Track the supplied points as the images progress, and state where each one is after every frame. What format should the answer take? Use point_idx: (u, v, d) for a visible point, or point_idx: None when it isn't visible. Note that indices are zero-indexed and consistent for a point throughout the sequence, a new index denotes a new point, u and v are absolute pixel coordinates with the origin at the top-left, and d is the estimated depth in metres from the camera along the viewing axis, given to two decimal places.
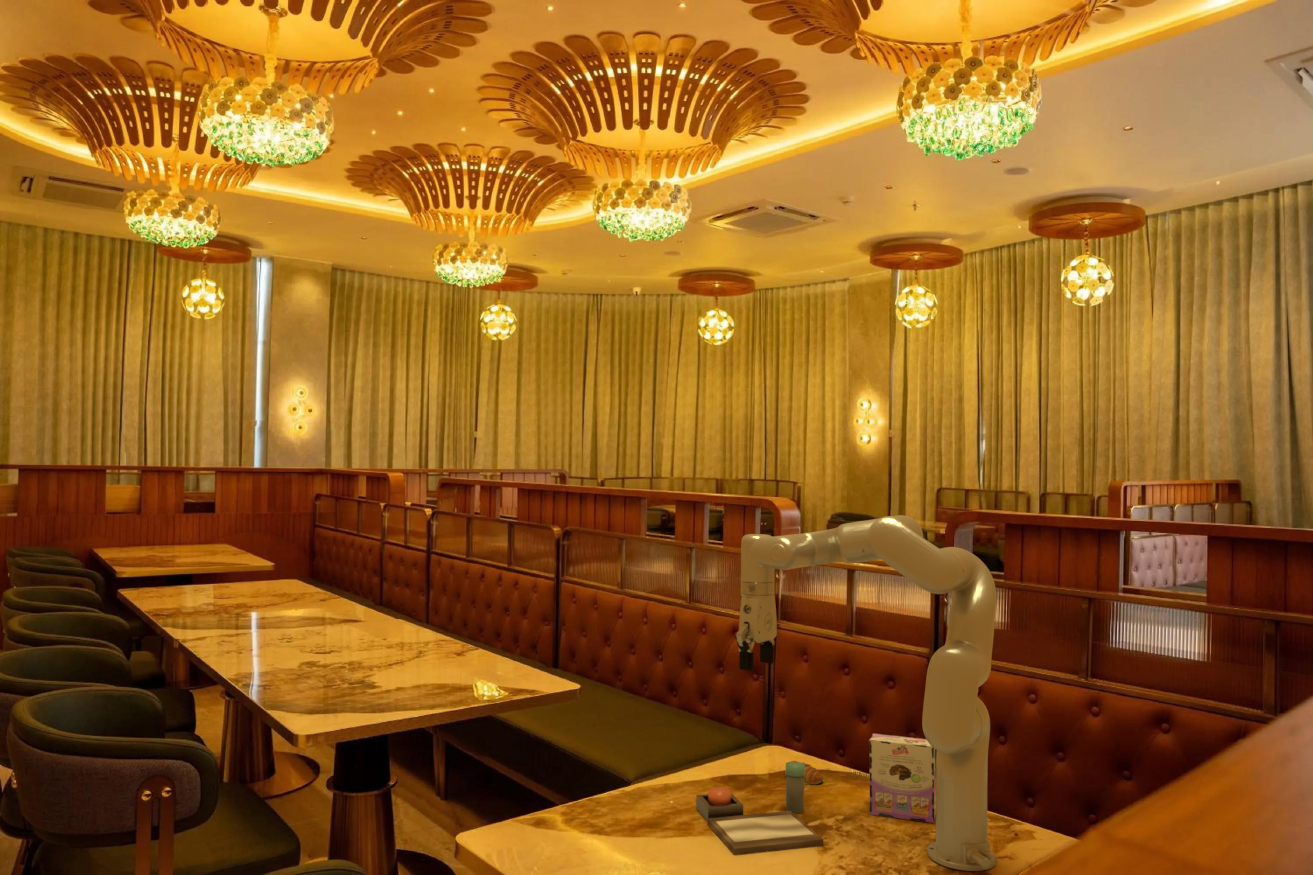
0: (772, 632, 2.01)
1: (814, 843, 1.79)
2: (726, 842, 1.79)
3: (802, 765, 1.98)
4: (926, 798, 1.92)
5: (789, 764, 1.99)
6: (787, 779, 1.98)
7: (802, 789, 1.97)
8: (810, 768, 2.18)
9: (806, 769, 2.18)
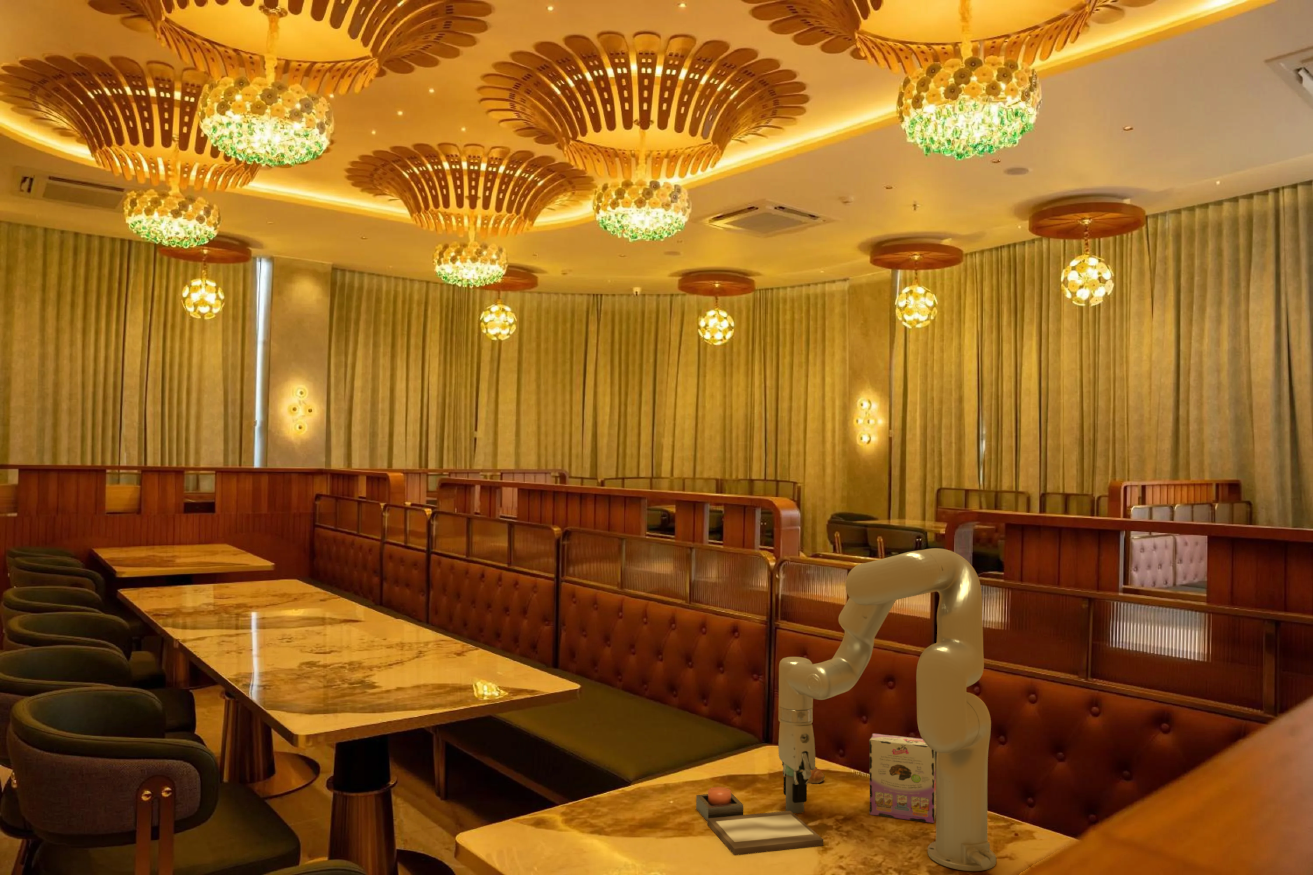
0: None
1: (814, 843, 1.79)
2: (726, 842, 1.79)
3: None
4: (926, 798, 1.92)
5: None
6: (787, 779, 1.98)
7: None
8: None
9: None
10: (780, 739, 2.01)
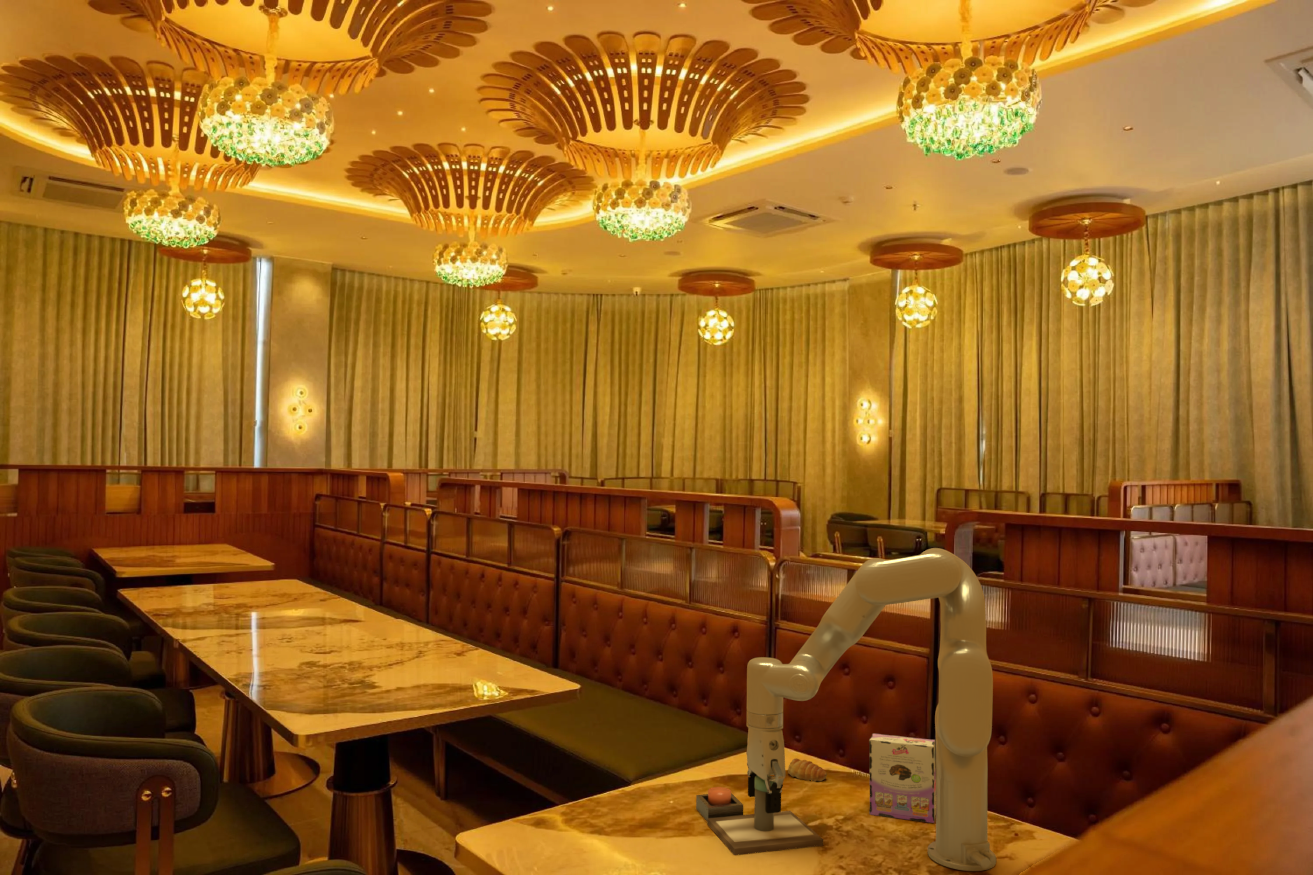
0: None
1: (814, 843, 1.79)
2: (726, 842, 1.79)
3: None
4: (926, 798, 1.92)
5: (758, 778, 1.85)
6: (756, 794, 1.84)
7: None
8: (813, 765, 2.21)
9: (810, 766, 2.20)
10: (748, 746, 1.87)
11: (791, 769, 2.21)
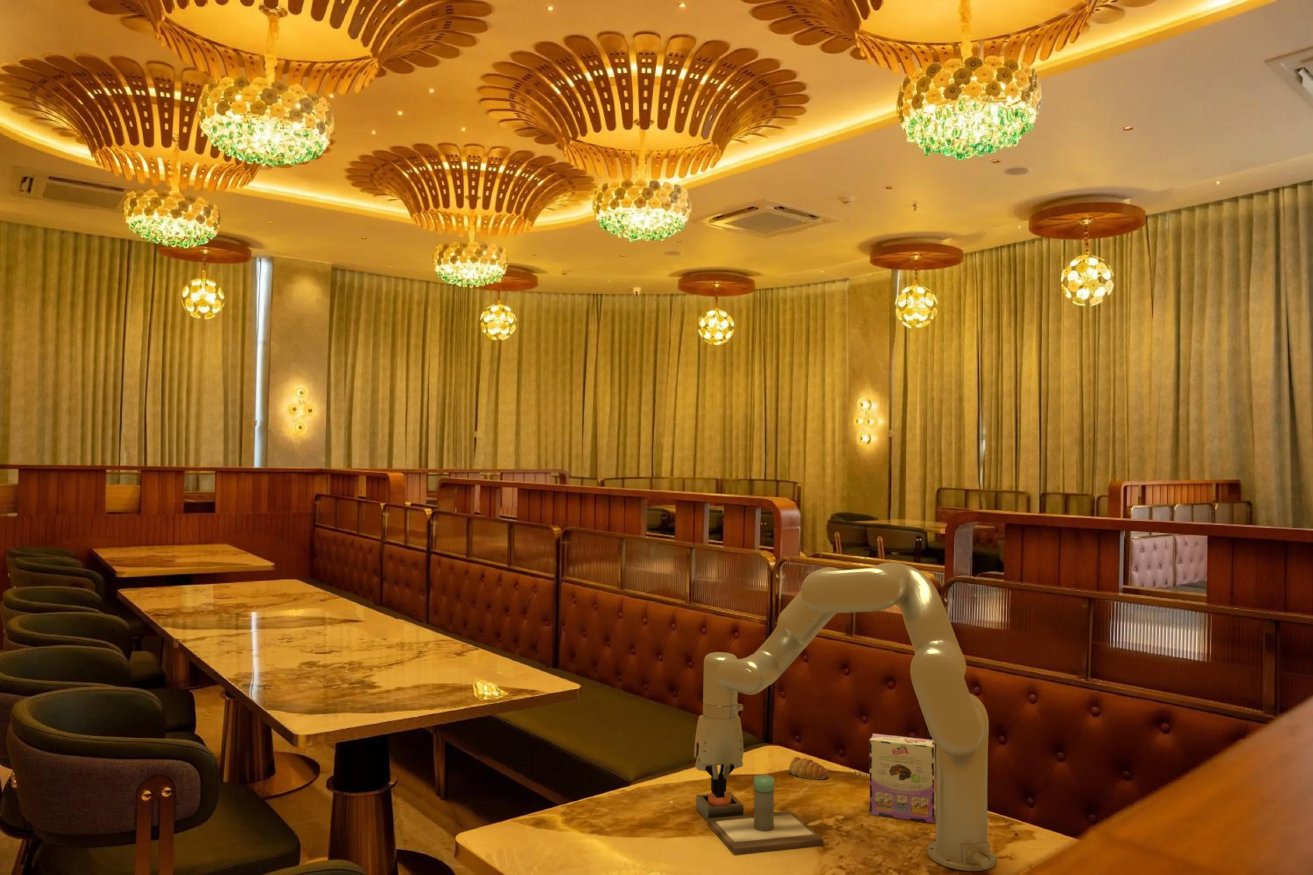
0: None
1: (814, 843, 1.79)
2: (726, 842, 1.79)
3: (771, 779, 1.84)
4: (926, 798, 1.92)
5: (757, 778, 1.85)
6: (755, 794, 1.84)
7: (771, 805, 1.83)
8: (814, 763, 2.22)
9: (811, 765, 2.21)
10: (710, 742, 1.93)
11: (792, 768, 2.22)
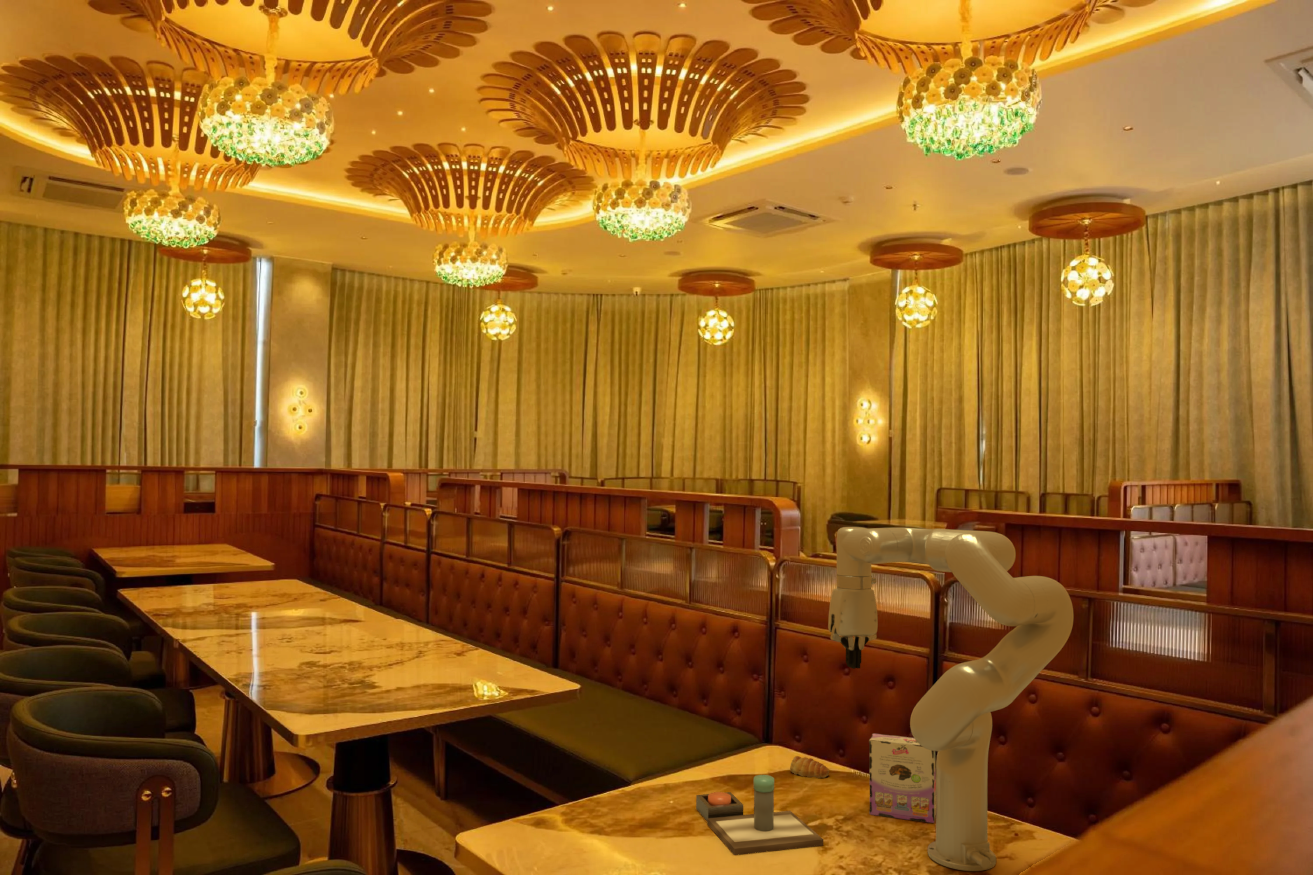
0: None
1: (814, 843, 1.79)
2: (726, 842, 1.79)
3: (771, 780, 1.84)
4: (926, 798, 1.92)
5: (757, 778, 1.85)
6: (754, 794, 1.84)
7: (770, 805, 1.83)
8: (815, 762, 2.23)
9: (812, 763, 2.22)
10: (846, 613, 1.95)
11: (794, 767, 2.23)
